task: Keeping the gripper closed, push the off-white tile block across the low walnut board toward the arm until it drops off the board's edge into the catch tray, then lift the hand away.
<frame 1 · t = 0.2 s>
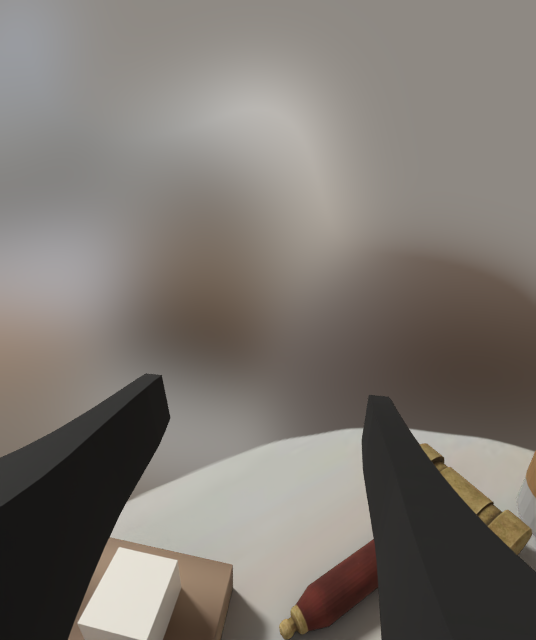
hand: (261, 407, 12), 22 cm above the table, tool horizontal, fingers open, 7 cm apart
tile block: (138, 616, 21), point 3 cm above the table, touching board
gavel: (387, 563, 28), on the table
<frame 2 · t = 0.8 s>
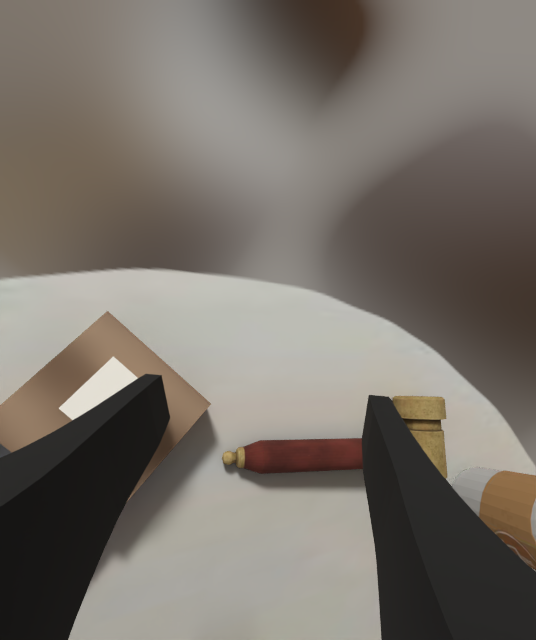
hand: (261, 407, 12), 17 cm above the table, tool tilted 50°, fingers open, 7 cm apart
board: (111, 410, 26), on the table
coffee cup: (470, 498, 35), on the table
tile block: (117, 401, 23), point 3 cm above the table, touching board
gavel: (330, 450, 31), on the table
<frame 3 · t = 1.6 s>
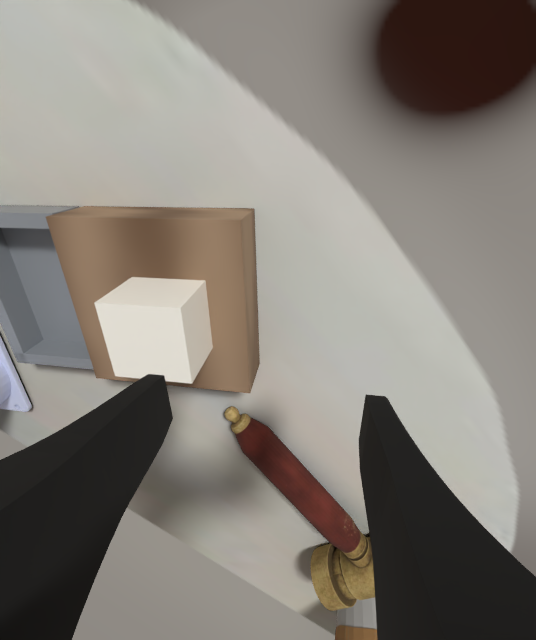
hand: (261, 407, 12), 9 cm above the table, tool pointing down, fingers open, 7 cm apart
catch tray: (58, 284, 22), on the table
board: (178, 291, 21), on the table
coffee cup: (369, 595, 34), on the table
tile block: (173, 313, 18), point 3 cm above the table, touching board
gavel: (315, 480, 28), on the table
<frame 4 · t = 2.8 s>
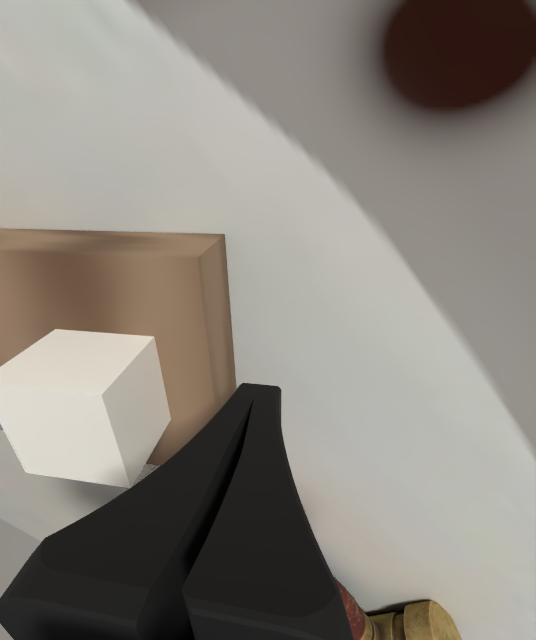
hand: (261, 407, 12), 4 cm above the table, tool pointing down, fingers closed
board: (131, 336, 16), on the table
tile block: (115, 376, 13), point 3 cm above the table, touching board
gavel: (311, 550, 23), on the table
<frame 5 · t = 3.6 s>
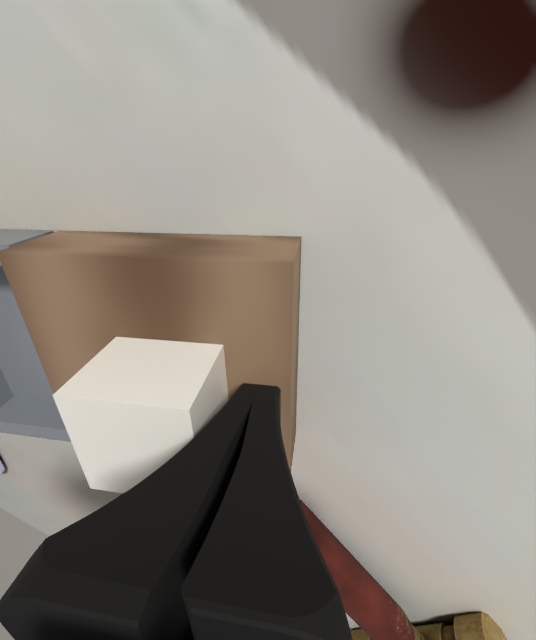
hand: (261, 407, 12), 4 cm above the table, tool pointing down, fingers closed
catch tray: (29, 330, 17), on the table
board: (189, 342, 16), on the table
tile block: (176, 385, 13), point 3 cm above the table, touching board, gripper
gavel: (356, 559, 22), on the table
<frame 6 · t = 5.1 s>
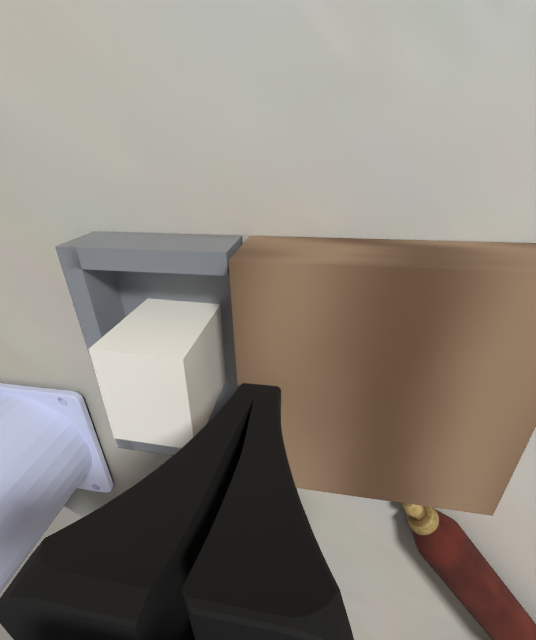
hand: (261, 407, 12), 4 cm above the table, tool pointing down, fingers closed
catch tray: (182, 342, 16), on the table
board: (369, 356, 14), on the table
tile block: (208, 372, 13), point 2 cm above the table, tilted 90°, touching catch tray
gavel: (488, 578, 21), on the table
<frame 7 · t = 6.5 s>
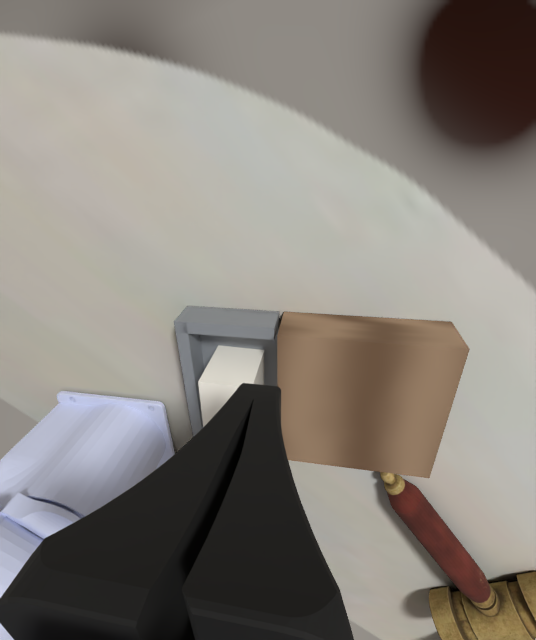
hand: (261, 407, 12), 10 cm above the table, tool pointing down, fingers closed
catch tray: (236, 370, 24), on the table
board: (356, 381, 23), on the table
tile block: (258, 392, 22), point 2 cm above the table, tilted 90°, touching catch tray
gavel: (443, 531, 30), on the table
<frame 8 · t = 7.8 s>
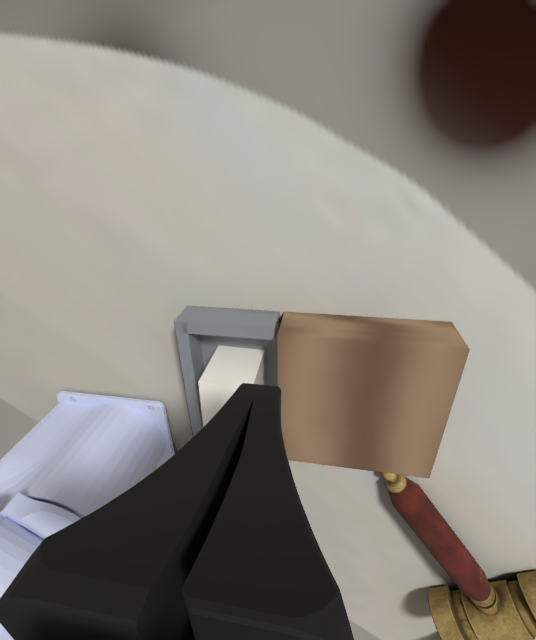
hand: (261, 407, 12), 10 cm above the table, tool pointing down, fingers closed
catch tray: (236, 370, 24), on the table
board: (356, 381, 23), on the table
tile block: (258, 392, 22), point 2 cm above the table, tilted 90°, touching catch tray
gavel: (444, 530, 30), on the table
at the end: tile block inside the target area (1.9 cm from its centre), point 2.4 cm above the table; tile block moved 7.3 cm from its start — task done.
